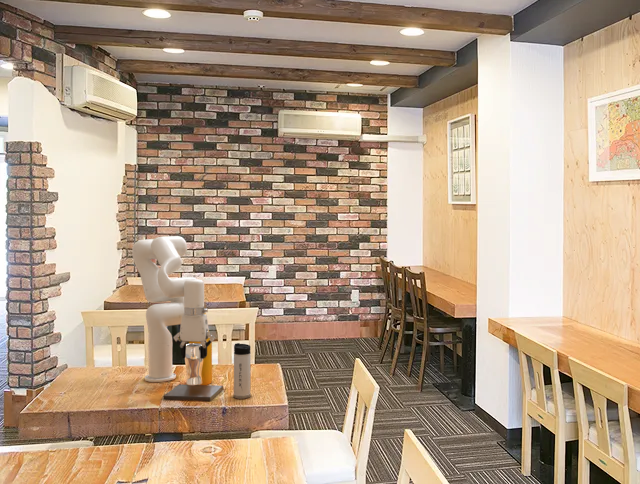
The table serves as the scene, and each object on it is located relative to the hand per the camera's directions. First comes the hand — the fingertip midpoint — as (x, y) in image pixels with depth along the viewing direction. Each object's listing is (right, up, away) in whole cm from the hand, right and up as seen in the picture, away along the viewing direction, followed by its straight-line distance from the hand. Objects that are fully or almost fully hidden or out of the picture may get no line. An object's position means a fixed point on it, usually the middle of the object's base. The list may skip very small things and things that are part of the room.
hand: (194, 357), depth 245 cm
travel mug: (+19, -15, -2) cm, 24 cm away
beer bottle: (-2, -14, +17) cm, 22 cm away
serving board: (0, -14, 0) cm, 14 cm away
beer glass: (0, -10, 0) cm, 10 cm away
